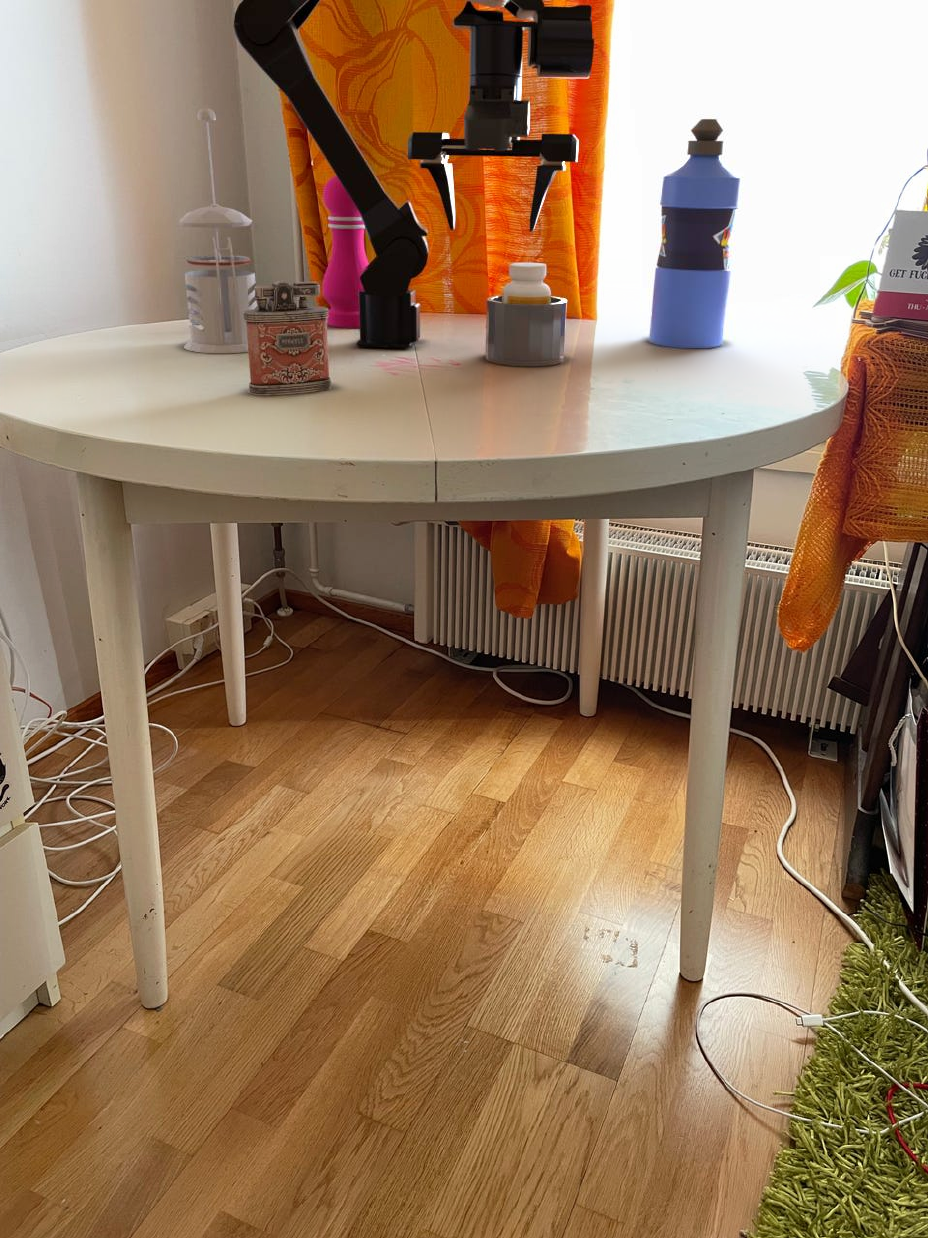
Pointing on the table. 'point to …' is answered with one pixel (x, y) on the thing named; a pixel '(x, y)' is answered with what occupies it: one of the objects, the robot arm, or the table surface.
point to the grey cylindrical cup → (525, 332)
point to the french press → (218, 280)
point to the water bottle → (695, 245)
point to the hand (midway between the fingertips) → (491, 230)
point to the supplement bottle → (527, 284)
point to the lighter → (287, 341)
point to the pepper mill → (343, 257)
